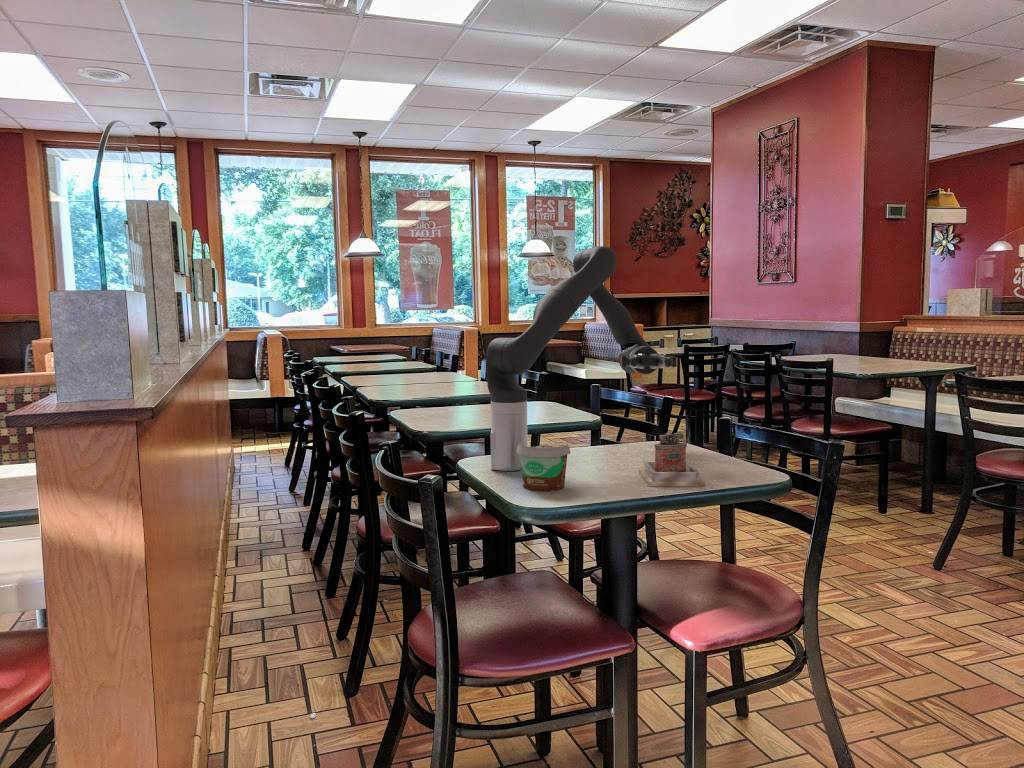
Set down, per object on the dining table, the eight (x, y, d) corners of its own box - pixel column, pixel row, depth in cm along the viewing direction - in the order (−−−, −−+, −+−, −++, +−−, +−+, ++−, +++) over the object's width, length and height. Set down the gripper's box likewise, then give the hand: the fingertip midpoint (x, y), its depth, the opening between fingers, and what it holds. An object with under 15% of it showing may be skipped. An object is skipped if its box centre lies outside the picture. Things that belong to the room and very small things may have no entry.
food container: (511, 491, 167) (510, 447, 167) (517, 485, 173) (517, 442, 173) (566, 494, 165) (565, 448, 164) (570, 487, 170) (570, 443, 170)
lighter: (658, 477, 175) (658, 435, 174) (651, 474, 178) (651, 433, 177) (689, 475, 177) (689, 433, 176) (682, 472, 180) (682, 431, 180)
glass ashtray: (647, 486, 171) (647, 473, 171) (638, 473, 185) (638, 461, 185) (704, 486, 171) (705, 473, 170) (692, 473, 185) (692, 460, 184)
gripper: (617, 345, 207) (624, 347, 191) (670, 346, 207) (680, 348, 191) (617, 373, 208) (623, 377, 192) (669, 373, 207) (679, 377, 191)
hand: (652, 362), depth 191 cm, fingers open, 8 cm apart
